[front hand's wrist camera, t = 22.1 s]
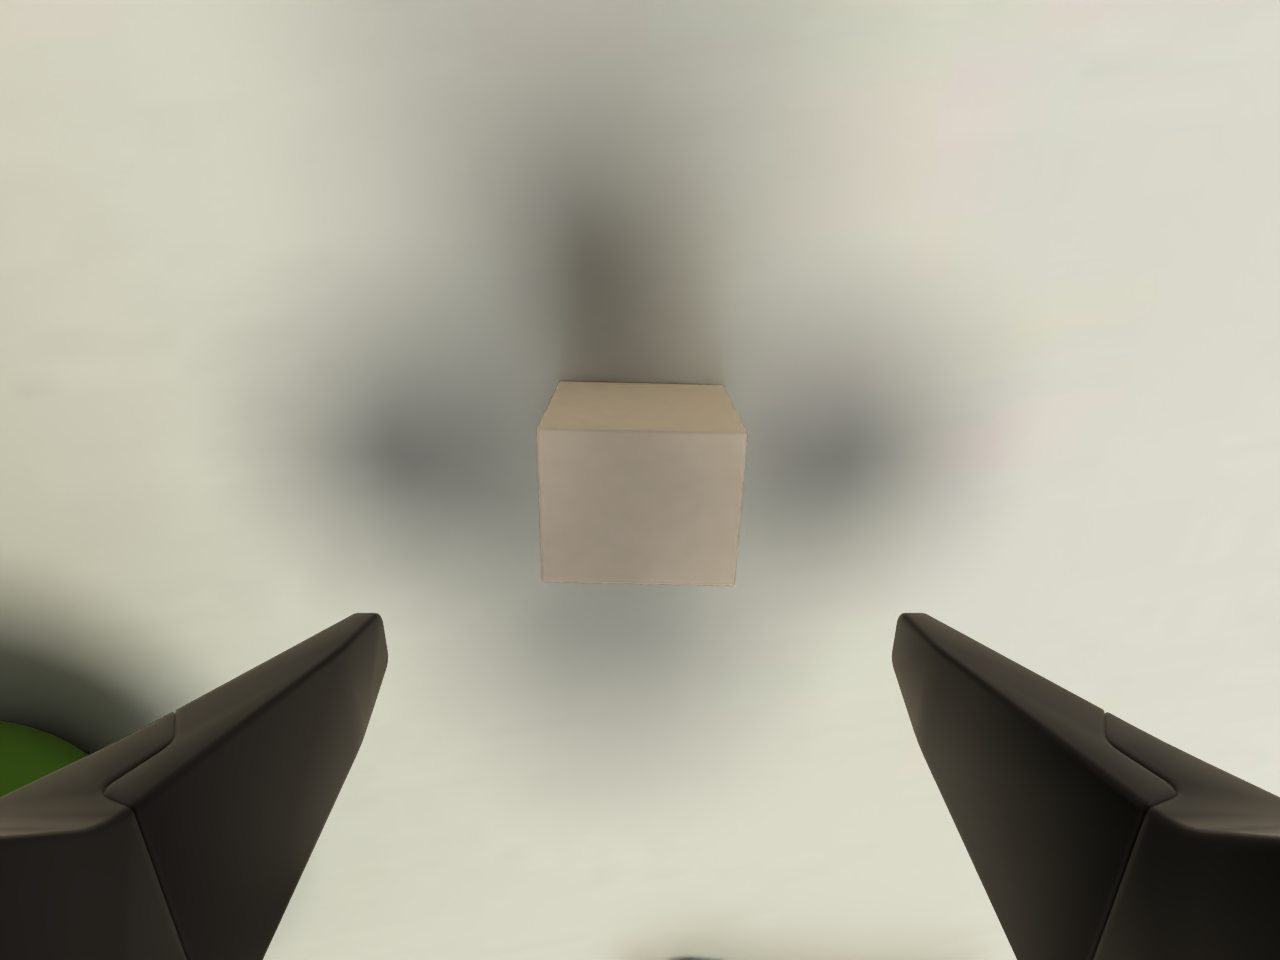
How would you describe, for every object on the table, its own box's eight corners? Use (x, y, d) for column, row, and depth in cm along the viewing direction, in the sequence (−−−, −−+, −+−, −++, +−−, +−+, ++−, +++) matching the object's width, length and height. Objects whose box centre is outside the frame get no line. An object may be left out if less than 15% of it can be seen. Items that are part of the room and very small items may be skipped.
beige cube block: (724, 384, 21) (748, 432, 16) (715, 510, 22) (734, 586, 18) (558, 380, 21) (535, 427, 16) (561, 507, 22) (540, 583, 18)
